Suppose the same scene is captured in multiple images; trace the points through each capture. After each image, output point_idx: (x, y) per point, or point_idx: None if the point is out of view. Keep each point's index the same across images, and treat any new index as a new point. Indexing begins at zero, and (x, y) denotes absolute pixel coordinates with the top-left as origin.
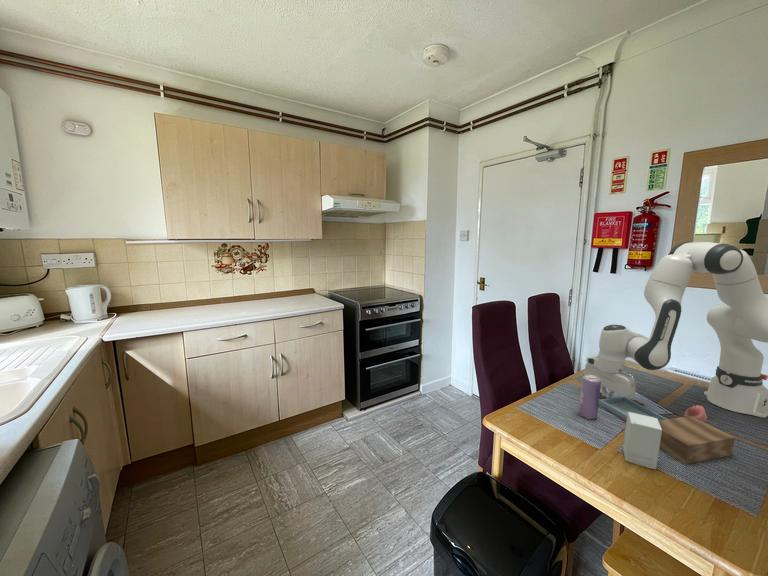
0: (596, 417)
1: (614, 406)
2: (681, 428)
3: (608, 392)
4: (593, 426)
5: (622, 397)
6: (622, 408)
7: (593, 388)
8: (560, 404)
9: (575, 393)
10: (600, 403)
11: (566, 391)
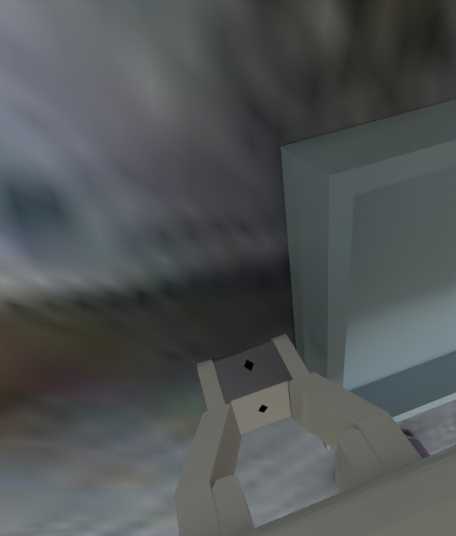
0: (419, 442)
1: (374, 330)
2: None
3: (332, 447)
4: (443, 447)
5: (350, 230)
6: (424, 284)
7: None
8: (256, 526)
9: (93, 489)
10: None
11: (66, 526)
